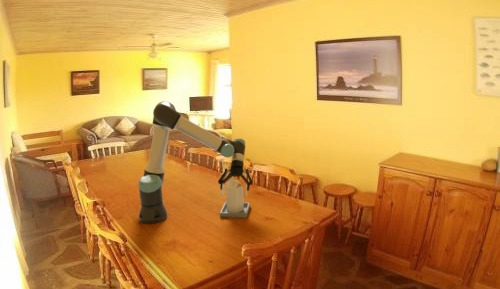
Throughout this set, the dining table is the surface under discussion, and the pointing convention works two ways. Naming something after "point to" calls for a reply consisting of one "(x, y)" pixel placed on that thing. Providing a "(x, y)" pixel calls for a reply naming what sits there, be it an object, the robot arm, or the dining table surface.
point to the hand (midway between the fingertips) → (234, 195)
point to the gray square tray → (237, 215)
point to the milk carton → (234, 196)
